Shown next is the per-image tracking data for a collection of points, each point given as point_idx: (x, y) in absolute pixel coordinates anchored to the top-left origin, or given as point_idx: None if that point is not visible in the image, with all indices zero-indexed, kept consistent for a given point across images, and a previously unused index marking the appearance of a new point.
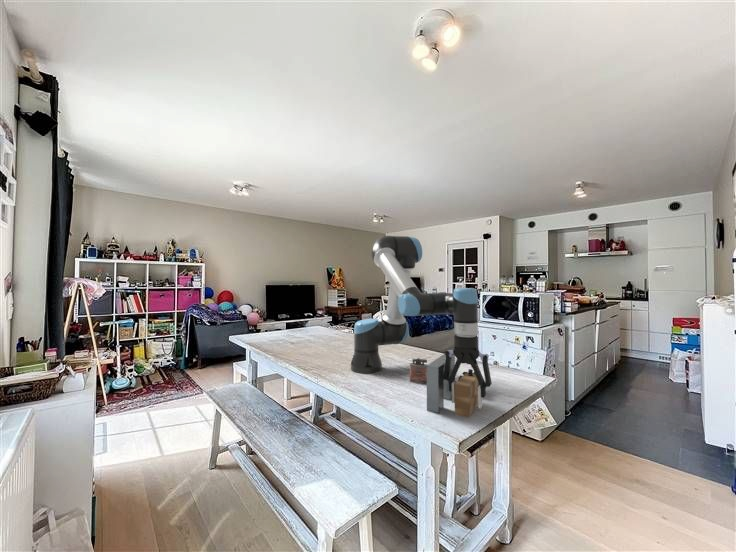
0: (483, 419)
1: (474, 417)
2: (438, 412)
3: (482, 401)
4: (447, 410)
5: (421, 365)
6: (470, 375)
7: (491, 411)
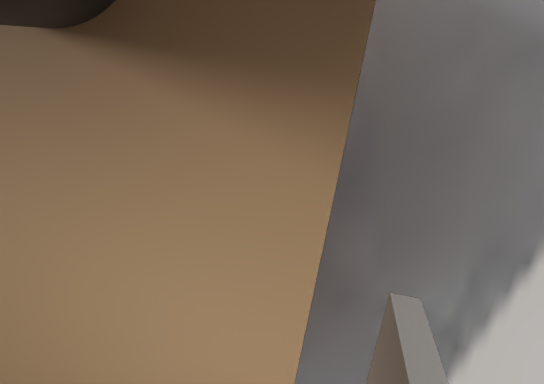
0: None
1: (325, 351)
2: None
3: (430, 330)
4: None
5: None
6: (42, 25)
7: (510, 155)
